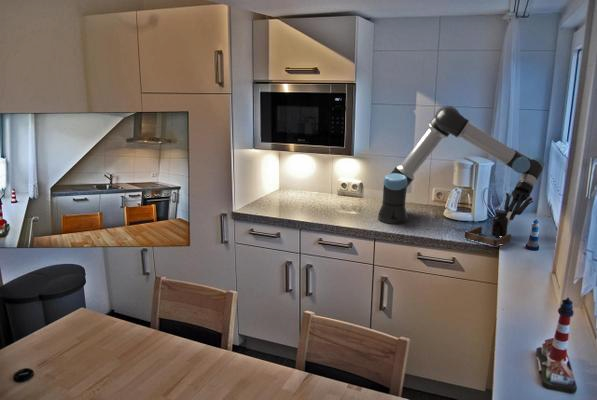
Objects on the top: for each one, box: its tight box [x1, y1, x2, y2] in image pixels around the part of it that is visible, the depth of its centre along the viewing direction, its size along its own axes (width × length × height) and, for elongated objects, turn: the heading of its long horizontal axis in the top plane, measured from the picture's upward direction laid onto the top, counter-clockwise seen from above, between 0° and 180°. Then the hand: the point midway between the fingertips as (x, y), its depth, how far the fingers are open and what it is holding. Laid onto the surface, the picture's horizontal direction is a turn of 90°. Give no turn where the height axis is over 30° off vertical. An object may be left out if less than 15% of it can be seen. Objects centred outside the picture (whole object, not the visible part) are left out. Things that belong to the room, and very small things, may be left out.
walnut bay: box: [464, 226, 512, 246], centre depth 215 cm, size 15×14×4 cm
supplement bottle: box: [490, 209, 509, 238], centre depth 221 cm, size 7×7×12 cm
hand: (505, 224), depth 223 cm, fingers closed
